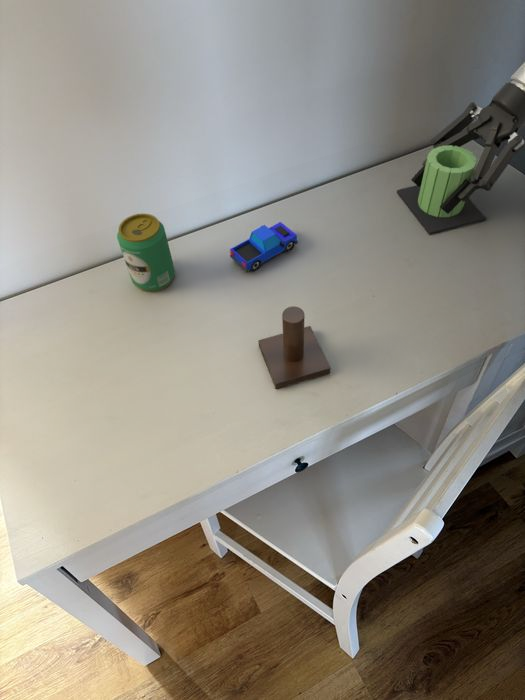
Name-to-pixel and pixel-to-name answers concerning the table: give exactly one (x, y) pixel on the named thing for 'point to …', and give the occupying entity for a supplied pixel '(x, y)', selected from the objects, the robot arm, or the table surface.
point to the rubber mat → (438, 224)
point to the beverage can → (146, 252)
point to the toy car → (263, 246)
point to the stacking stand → (293, 352)
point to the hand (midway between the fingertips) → (429, 196)
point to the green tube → (444, 178)
